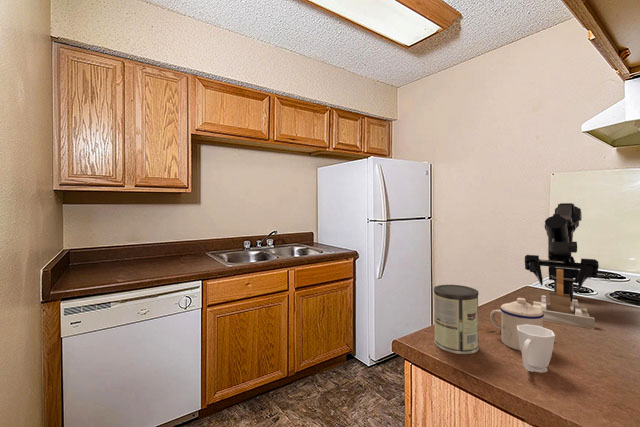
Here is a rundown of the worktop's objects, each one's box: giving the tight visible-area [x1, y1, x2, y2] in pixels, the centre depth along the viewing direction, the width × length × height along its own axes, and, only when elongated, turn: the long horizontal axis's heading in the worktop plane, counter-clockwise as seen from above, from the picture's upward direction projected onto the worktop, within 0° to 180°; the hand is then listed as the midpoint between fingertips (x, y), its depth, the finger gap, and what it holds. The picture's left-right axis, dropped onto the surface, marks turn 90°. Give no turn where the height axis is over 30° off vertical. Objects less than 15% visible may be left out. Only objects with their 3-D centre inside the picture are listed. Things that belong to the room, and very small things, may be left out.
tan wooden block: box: [549, 269, 572, 314], centre depth 96 cm, size 5×5×13 cm
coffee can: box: [433, 284, 480, 355], centre depth 76 cm, size 10×10×14 cm
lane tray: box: [532, 295, 596, 330], centre depth 94 cm, size 20×14×4 cm
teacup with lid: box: [489, 297, 544, 352], centre depth 77 cm, size 12×9×12 cm
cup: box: [517, 324, 556, 374], centre depth 64 cm, size 7×10×8 cm
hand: (560, 286), depth 95 cm, fingers open, 9 cm apart
